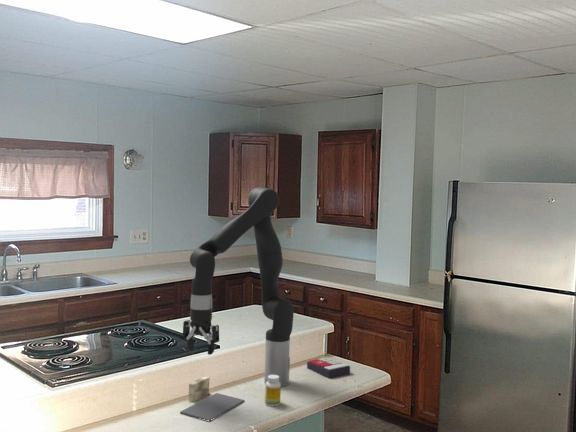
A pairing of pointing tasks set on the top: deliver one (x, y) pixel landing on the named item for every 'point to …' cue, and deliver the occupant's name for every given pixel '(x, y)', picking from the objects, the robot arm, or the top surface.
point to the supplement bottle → (272, 390)
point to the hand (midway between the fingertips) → (200, 352)
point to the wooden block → (198, 388)
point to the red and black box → (329, 367)
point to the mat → (212, 406)
